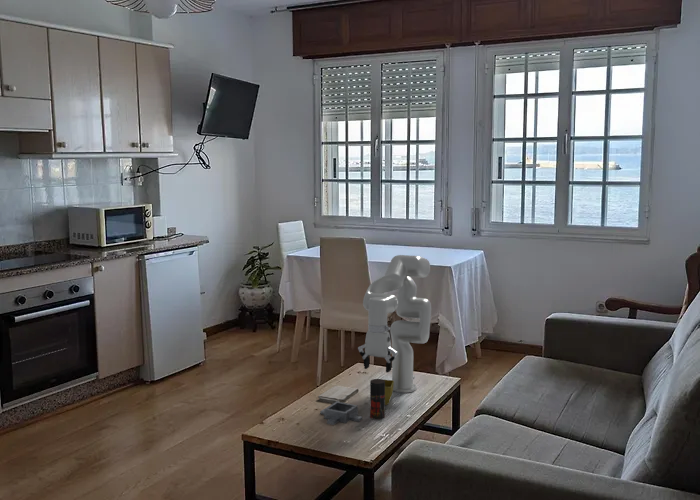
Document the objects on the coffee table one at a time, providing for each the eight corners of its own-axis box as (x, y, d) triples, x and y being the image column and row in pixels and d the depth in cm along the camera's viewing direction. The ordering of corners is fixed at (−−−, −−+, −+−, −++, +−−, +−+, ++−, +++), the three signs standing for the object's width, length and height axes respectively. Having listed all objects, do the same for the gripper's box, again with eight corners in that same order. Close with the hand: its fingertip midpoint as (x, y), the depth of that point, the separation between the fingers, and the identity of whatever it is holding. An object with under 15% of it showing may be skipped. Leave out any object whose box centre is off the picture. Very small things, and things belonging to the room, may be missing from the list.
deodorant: (368, 415, 272) (368, 379, 270) (381, 413, 274) (381, 378, 272) (373, 420, 266) (373, 384, 264) (386, 418, 268) (387, 382, 266)
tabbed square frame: (333, 405, 282) (333, 396, 282) (370, 413, 274) (370, 404, 273) (310, 420, 267) (310, 410, 266) (350, 428, 258) (350, 418, 257)
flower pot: (391, 407, 280) (391, 386, 279) (370, 406, 282) (370, 385, 281) (393, 400, 289) (394, 380, 288) (374, 398, 291) (374, 379, 289)
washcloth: (316, 402, 288) (316, 395, 288) (335, 389, 304) (335, 382, 304) (341, 406, 283) (341, 399, 283) (359, 393, 299) (359, 386, 299)
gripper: (401, 328, 264) (400, 370, 266) (362, 323, 272) (362, 364, 275) (393, 333, 258) (393, 375, 260) (354, 327, 266) (354, 369, 268)
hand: (377, 369), depth 267 cm, fingers open, 9 cm apart
